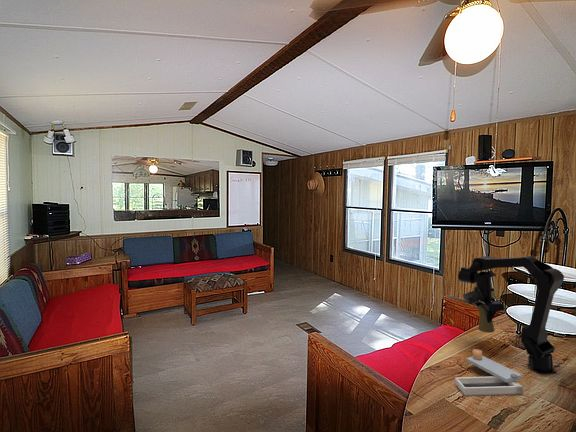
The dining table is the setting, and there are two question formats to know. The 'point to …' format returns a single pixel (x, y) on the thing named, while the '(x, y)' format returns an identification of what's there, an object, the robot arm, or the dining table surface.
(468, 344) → the dining table surface
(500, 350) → the dining table surface
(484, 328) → the olive brown bulbous cylinder
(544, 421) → the dining table surface
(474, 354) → the cover
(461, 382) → the white tray with rod
